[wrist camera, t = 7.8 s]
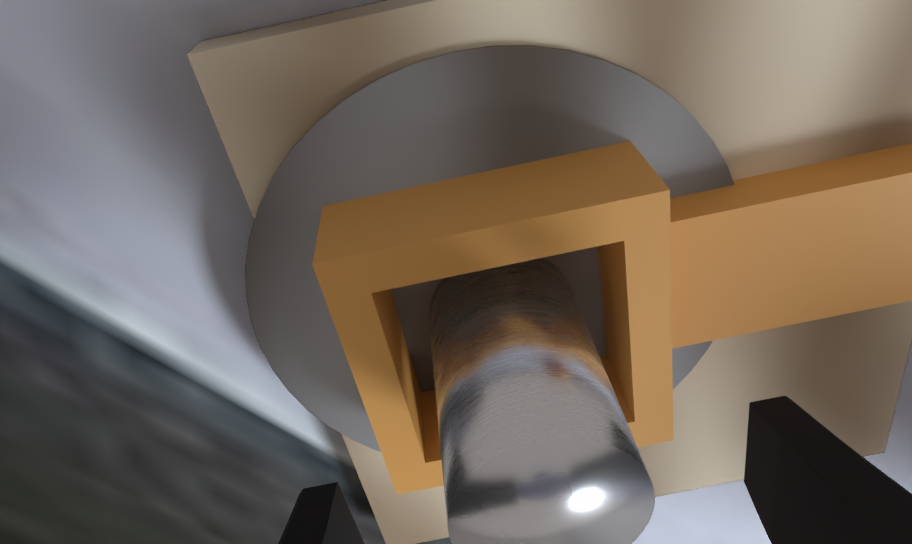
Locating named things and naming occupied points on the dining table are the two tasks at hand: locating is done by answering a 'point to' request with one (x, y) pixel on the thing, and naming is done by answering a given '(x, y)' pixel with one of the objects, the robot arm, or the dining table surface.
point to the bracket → (614, 267)
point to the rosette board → (550, 135)
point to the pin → (529, 415)
